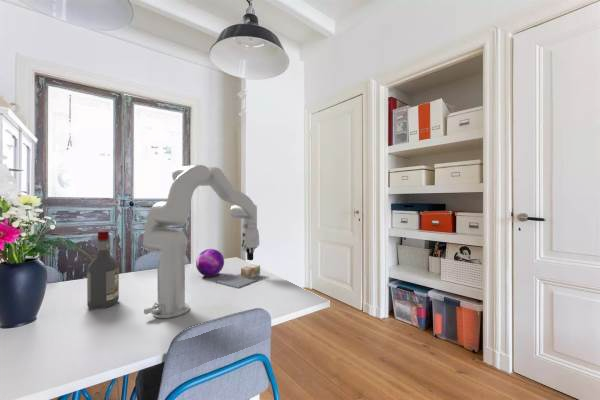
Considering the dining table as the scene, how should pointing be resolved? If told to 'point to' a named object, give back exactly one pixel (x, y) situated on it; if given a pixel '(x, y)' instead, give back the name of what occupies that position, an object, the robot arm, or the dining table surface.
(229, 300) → the dining table surface
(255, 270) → the maple block
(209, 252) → the decorative orb
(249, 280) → the slate mat
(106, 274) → the liquor
